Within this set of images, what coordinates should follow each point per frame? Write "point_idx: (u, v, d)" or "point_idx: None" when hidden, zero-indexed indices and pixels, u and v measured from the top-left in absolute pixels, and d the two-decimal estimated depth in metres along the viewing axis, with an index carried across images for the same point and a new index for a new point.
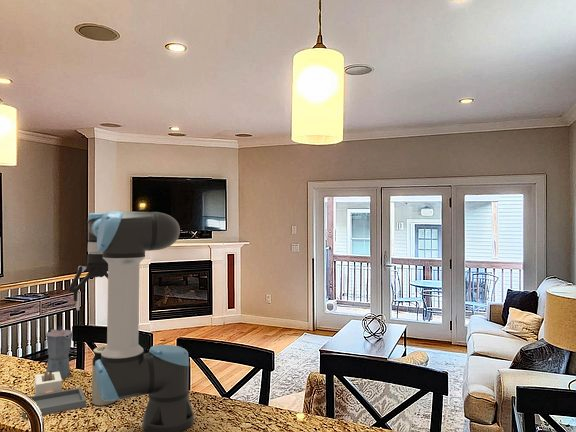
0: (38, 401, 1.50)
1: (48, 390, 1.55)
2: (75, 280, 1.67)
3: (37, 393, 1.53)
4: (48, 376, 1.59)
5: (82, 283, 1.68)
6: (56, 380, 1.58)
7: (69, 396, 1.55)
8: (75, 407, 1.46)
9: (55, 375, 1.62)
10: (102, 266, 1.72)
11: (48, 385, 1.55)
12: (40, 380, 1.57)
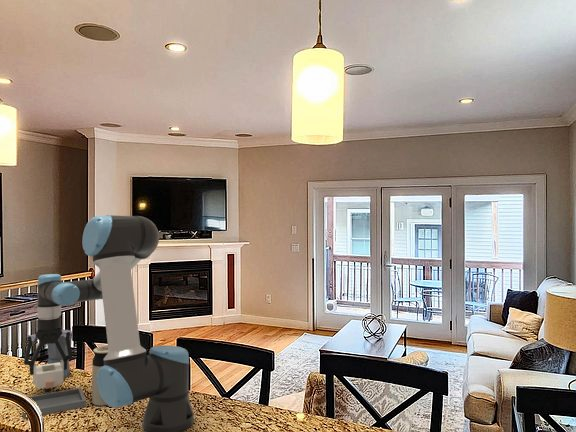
0: (38, 401, 1.50)
1: (49, 380, 1.55)
2: (28, 352, 1.56)
3: (38, 383, 1.53)
4: None
5: (36, 354, 1.57)
6: (57, 370, 1.57)
7: (69, 396, 1.55)
8: (75, 407, 1.46)
9: (56, 365, 1.62)
10: (54, 330, 1.60)
11: (49, 375, 1.55)
12: (41, 370, 1.57)
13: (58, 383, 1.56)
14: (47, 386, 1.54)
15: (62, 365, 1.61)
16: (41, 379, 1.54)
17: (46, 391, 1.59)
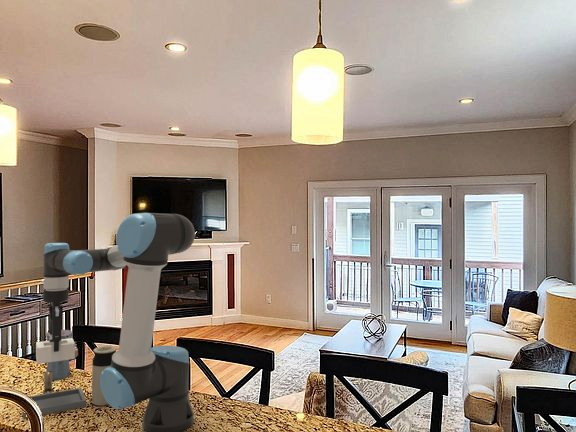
0: (38, 401, 1.50)
1: None
2: None
3: (74, 352, 1.49)
4: (48, 376, 1.59)
5: None
6: (69, 339, 1.53)
7: (69, 396, 1.55)
8: (75, 407, 1.46)
9: None
10: None
11: None
12: (61, 344, 1.48)
13: None
14: (77, 353, 1.52)
15: None
16: None
17: (46, 391, 1.59)
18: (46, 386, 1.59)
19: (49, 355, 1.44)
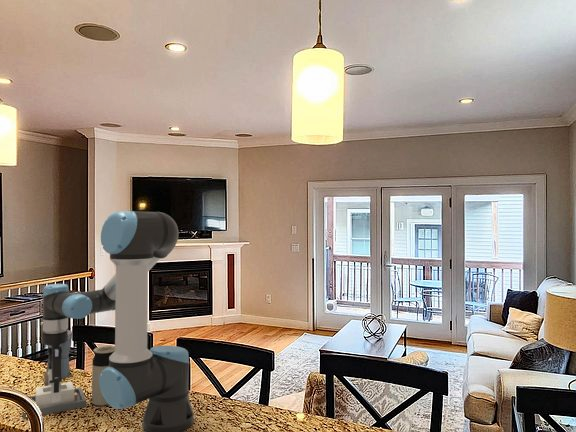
0: None
1: None
2: (60, 367, 1.43)
3: (74, 397, 1.49)
4: None
5: None
6: (68, 383, 1.53)
7: None
8: (75, 407, 1.46)
9: (49, 386, 1.50)
10: None
11: None
12: (61, 389, 1.47)
13: None
14: None
15: None
16: None
17: None
18: None
19: (48, 402, 1.44)
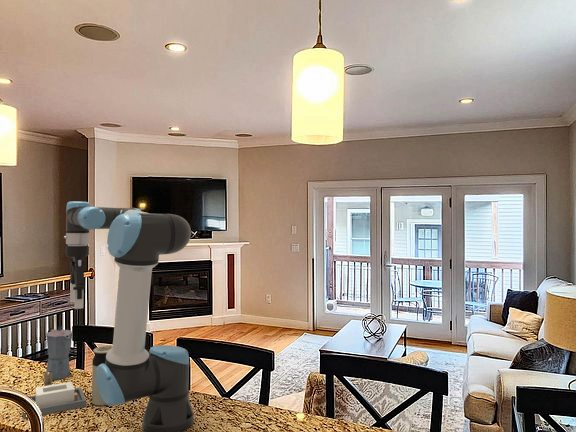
0: None
1: None
2: (83, 275, 1.52)
3: (74, 397, 1.49)
4: (48, 376, 1.59)
5: None
6: (68, 383, 1.53)
7: None
8: (75, 407, 1.46)
9: (49, 386, 1.50)
10: None
11: None
12: (61, 389, 1.47)
13: None
14: None
15: None
16: None
17: None
18: None
19: (48, 402, 1.44)
